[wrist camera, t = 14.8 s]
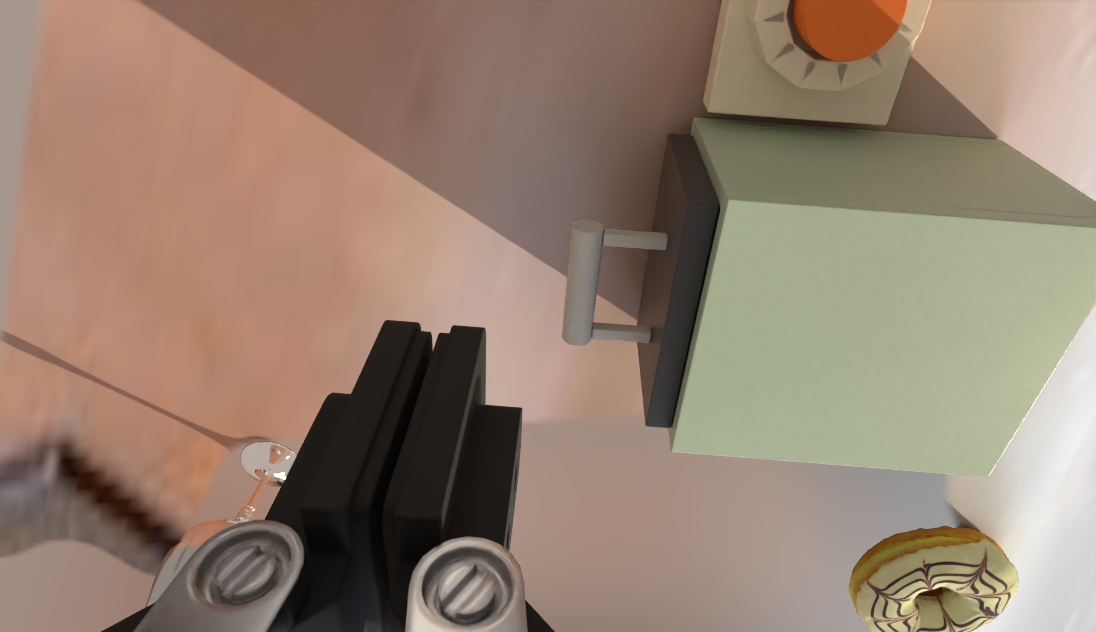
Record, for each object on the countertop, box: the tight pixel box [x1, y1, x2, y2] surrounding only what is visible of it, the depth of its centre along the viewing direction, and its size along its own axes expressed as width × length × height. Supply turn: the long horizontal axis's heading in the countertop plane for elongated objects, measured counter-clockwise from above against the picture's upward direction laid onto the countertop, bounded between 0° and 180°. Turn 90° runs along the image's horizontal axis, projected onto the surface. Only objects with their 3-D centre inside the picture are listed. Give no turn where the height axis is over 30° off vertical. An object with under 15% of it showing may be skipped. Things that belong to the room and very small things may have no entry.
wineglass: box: [146, 441, 297, 607], centre depth 42 cm, size 6×6×12 cm
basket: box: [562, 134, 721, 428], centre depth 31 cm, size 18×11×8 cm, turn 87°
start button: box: [793, 0, 908, 62], centre depth 25 cm, size 4×4×2 cm
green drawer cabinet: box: [668, 117, 1096, 477], centre depth 31 cm, size 15×13×10 cm
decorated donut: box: [849, 526, 1019, 632], centre depth 47 cm, size 10×11×4 cm
